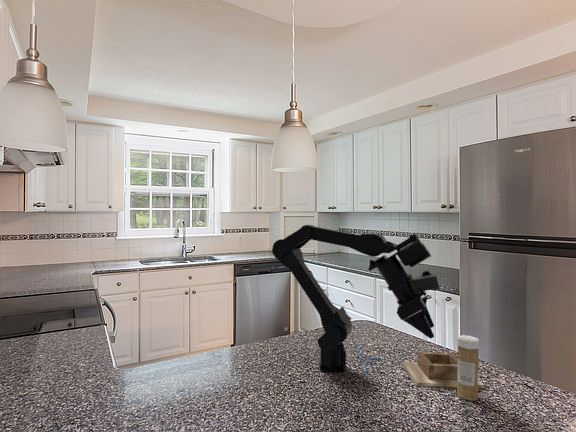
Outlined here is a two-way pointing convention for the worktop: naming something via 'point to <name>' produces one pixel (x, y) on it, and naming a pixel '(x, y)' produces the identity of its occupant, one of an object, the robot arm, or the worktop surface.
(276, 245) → the robot arm
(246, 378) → the worktop surface
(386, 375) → the worktop surface
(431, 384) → the bottle stand
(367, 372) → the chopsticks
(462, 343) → the sprinkles bottle
